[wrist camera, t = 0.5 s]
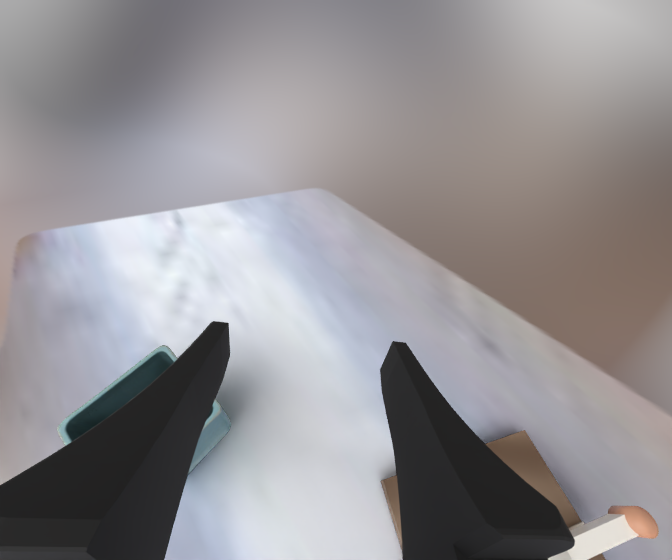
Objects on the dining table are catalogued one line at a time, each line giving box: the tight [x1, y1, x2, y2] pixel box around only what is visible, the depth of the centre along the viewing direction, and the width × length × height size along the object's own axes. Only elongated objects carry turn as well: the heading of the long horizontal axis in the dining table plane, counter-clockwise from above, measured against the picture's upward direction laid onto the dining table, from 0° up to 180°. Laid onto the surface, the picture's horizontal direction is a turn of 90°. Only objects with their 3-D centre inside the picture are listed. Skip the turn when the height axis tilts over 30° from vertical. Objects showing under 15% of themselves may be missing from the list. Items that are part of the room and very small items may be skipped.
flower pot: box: [57, 345, 231, 474], centre depth 25 cm, size 9×9×9 cm
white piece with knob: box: [548, 506, 658, 560], centre depth 20 cm, size 13×6×2 cm, turn 105°
